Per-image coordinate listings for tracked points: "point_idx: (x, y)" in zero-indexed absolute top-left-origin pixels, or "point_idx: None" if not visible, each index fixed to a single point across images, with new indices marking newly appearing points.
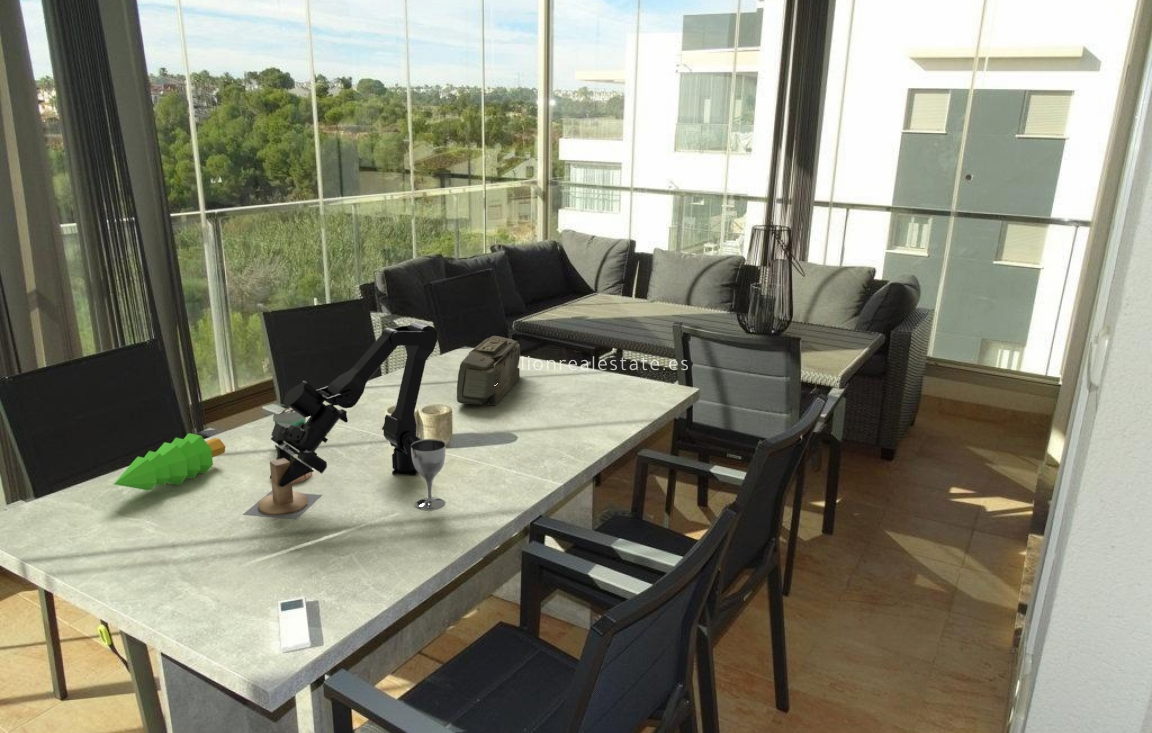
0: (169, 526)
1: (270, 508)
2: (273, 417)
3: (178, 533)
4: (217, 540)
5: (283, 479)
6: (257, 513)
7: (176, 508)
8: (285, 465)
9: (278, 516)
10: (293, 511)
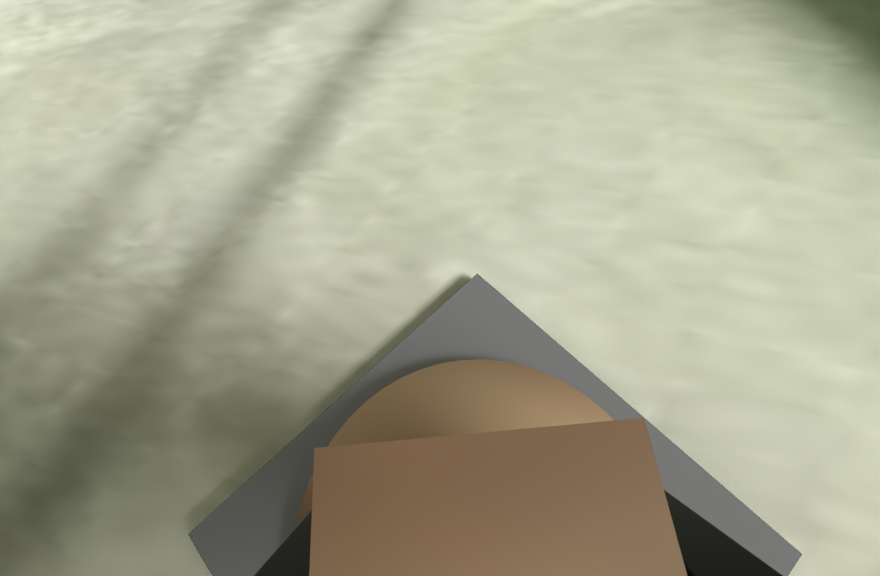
0: (553, 39)
1: (412, 417)
2: None
3: (467, 54)
4: (302, 146)
5: (287, 543)
6: (439, 344)
7: (738, 73)
8: None
9: (314, 441)
10: None
